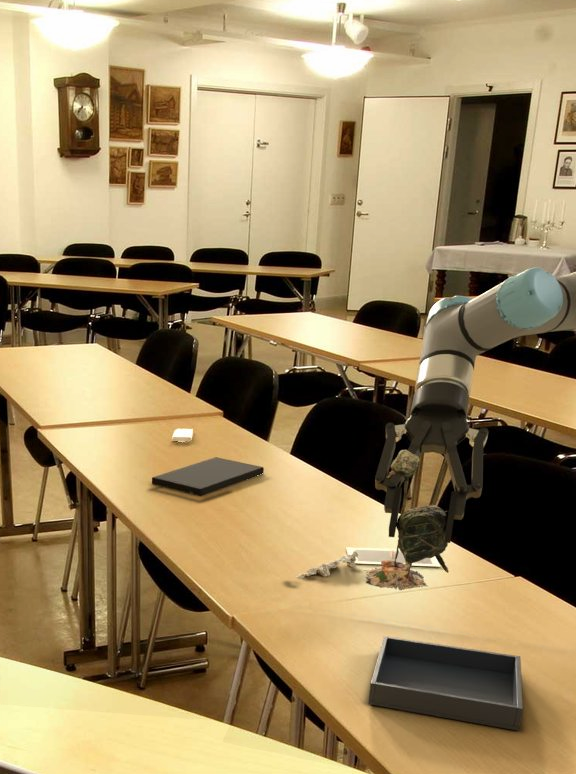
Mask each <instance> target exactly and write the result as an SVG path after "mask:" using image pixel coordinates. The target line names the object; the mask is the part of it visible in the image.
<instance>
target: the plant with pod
mask: <svg viewBox="0 0 576 774" xmlns="http://www.w3.org/2000/svg"><path fill="white" fill-rule="evenodd" d="M420 463H421V458H420V457H418V456H416V455H415V454H412V453H411V452H409V451H408V449H401V450H400V451H399V452H398V454H397V456H396V457H395V459H393V460H392V462H391V465H390V470H391V471H389V472H388V475H387V476H386V477H387V478H388V479H390V478H391V476H392V475H393V474H396V475H401V476H403V477H405V480H404V481H403V483H404V484H403V500H402V507H401V512H400V514H399V515H398V519H397V525H396V531H397V538H398V539H397V545H396V549H397V553H396V556H395V561H390V560H383V561H382V562H381V564H380V565H381V566H380V567H374V568H371V569H367V570H365V569H364V570H363V571H365V584H368V586H369V585H370V586H374V587H379V588H380V589H382V588H386V589H394V590H397V589H398V590H399V591H402V590H409V589H417V588H425V587H428V585H427V583H426V582H425V579H424V575H422V574H421V573H420V572H418V570H416V571H415V570H412V569H411V568H412V566H411V565H412V563H415V562H418V561H420V560H423V559H425V558H432V557H434V556H435V557H436V559H437V560H438V562H439V564H440V566H441V568H442V570H443V571H444V572H445V573H449V572H450V571H449V567H448V566H447V565H446V563H445V560H444V558H443V557H442V555H441V554H443V553H444V552H445V551H446V549H447V547H448V545H449V543H445V542H444V541H445V533H446V526H447V520H448V515H447V512H448V510H444V509H442V508H441V507H439V506H437V505H435V504H429V505H423V506H419V507H417V506H416V507H413V508H409V509H408V510H406V505H407V500H408V495H407V494H408V488H409V482H410V481H409V479H410V478H412V477H413V476H414V475H415V474H416V471H417V468H418V467H419V466H420ZM405 510H406V511H405ZM398 549H400V551H401V552H402V554H403V556H404V558H405V561H406V562H405V564H403V563H400V562H396V559H397V556H398V553H399V550H398Z"/></svg>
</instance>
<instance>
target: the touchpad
mask: <svg viewBox="0 0 576 774" xmlns="http://www.w3.org/2000/svg"><path fill="white" fill-rule="evenodd" d="M345 549H346V553H347V555H352V554H353V551H355V552H357V554H358V558H357V557H355V558H356V561H355V564H363V565H382V564H381V562H382V561H383V560H390V561H395V556H396V553H397V548H378V547H377V548H376V547H375V548H374V547H373V548H372V547H349V546H347V547H345ZM398 550H399V553H398V556H397V559H396V562H400V563H403V564H405V562H406V561H405V558H404V556H403V554H402V552H401V551H400V549H398ZM412 566H415V567H437V568H438V567H440V568H442V566H441V565H440V564H439V562H438V560H437V559H436V557H435V556H434V557H432V558H425V559H423V560H420V561H418V562H415V563H412V565H411V567H412Z"/></svg>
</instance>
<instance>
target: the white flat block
mask: <svg viewBox="0 0 576 774" xmlns="http://www.w3.org/2000/svg"><path fill="white" fill-rule="evenodd" d="M192 437H193V438H194V429H193V428H176V429H174V431H173V434H172V437H171V442H172V441H178V442H182V443H181V444H184V443H183V442H185V441H191V440H193V438H192ZM178 442H177V443H178ZM191 442H192V441H191ZM185 443H186V442H185Z"/></svg>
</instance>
